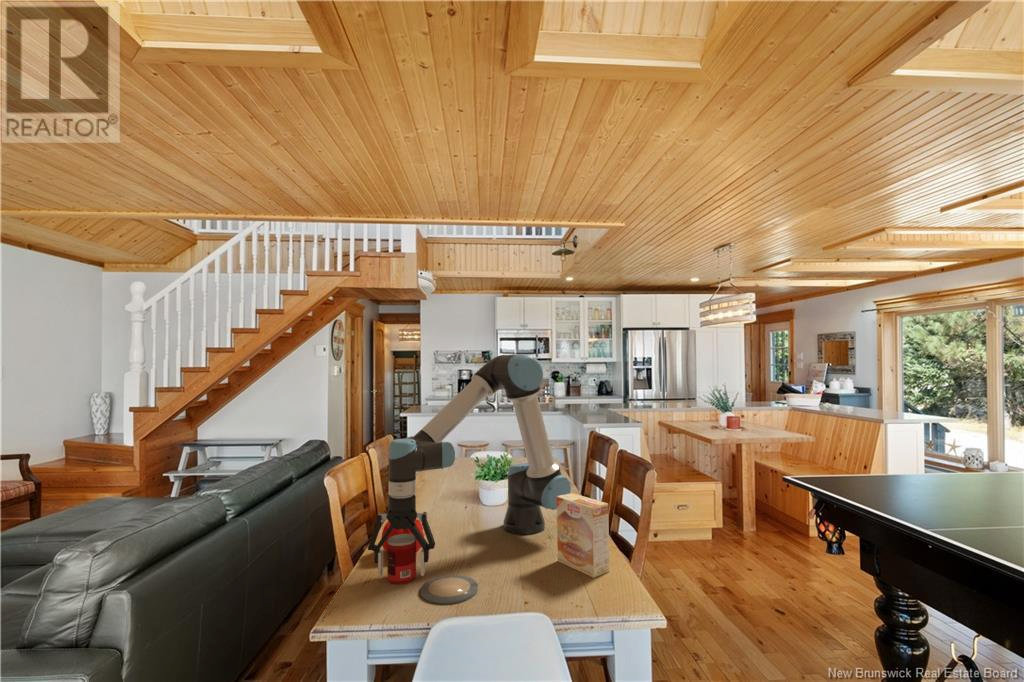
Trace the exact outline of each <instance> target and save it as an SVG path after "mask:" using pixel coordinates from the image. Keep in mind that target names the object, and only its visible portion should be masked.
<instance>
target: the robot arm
mask: <svg viewBox="0 0 1024 682" xmlns="http://www.w3.org/2000/svg"><path fill="white" fill-rule="evenodd" d="M543 379H544V370H543V367H542V365H541V363H540V361H539V360H538V359H537V358H536V357H534V356H532V355H530V354H523V353H517V354H501V355H497V356H495V357H493V358H490V360H489V361H487V362H486V363H485V364H484V365H483V366H481V368H479V369H478V370H477V371H476V372H474V374H473V375H472V376H471V381H469V383H468V384H467V385H466V386H465V387H463V388H462V389H461V391H459V392H458V393H457V394H456V395H455V396H454V397H453V398H452V399H451V400H450V401H448V403H447V404H446V405H445V406H444V407H442V409H440V410H439V412H438V413H437V414H436V415H435V416H433V417H432V419H430V420H429V421H428V423H427V424H425V425H423V427H422V428H421V429H420V430H419V431H418V432H417V433H415V435H413V436H409V437H408V436H407V437H406V438H397V439H393V440H392V441H391V440H390V442H389V446H388V456H387V458H388V495H389V497H388V510H387V513H383V512H379V513H378V515H376V524H375V526H374V530H373V531H372V536H371V538H370V541H369V543H368V545H367V550H368V551H372V552H373V553H374V564H375V565H376V564H377V567H378V568H377V577H378V578H381V577H382V575H383V573H384V548H383V546H382V545H383V544H384V542H385V540H386V539H387V537H388V536H389V534H390V533H391V531H392V530H393V528H394V529H396V530H399V529H404V530H407V529H408V528H409V530H410V531H411V532H412V533H413V535H414V536H415V538H416V539H417V541H418V542H419V544H420V545H421V552H420V576H421V577H424V576H425V573H426V563H428V562H429V559H430V555H429V554H430V550H433V549H435V547H436V541H435V538H434V535H433V533H432V529H431V528H430V524H429V521H428V512H427V511H423V512H420V513H419V512H417V510H416V509H417V507H416V504H417V503H416V500H417V498H416V497H417V496H416V490H417V487H416V485H417V472H425V471H426V472H427V471H431V470H443V469H446V468H450V467H451V466H453V465H454V464H455V460H456V452H455V447H454V446H453V443H451V442H449V441H446V442H445V441H444V440H445V439H446V438H447V437H448V436H449V435H450V434H451V432H453V431H454V429H455V428H457V427H458V426H459V425H460V424H461V423H462V422H463V421H464V420H465V419H466V418H467V417H468V416H469V415H470V414H471V413H472V411H474V410H475V409H476V408H477V407H478V406H479V405H480V404H481V403H482V402H483V401H484V400H485V399H486V398H488V397H492V396H493V395H494V394H495V393H496V392H498V391H499V390H502V389H504V391H505V395H506V399H507V400H509V401H511V402H512V405H513V408H514V412H515V416H516V420H517V424H518V428H519V431H520V436H521V441H522V443H523V447H524V452H525V456H526V461H527V462H520V463H515V464H511V465H510V466H509V467H508V470H507V501H508V502H507V504H508V505H507V509H506V513H505V515H504V519H503V529H504V530H505V531H506V532H508V533H512V534H517V535H530V534H531V535H532V534H538V533H540V532H542V531H544V530H545V528H546V521H545V518H544V514H543V511H542V509H541V507H542V508H544V509H546V510H548V509H549V510H552V511H557V496H560V495H565V494H570V493H572V485H571V482H570V480H569V478H567V476H565V475H562V472H561V468H560V464H559V463H558V462H556V461H554V458H553V454H552V449H551V446H550V441H549V437H548V433H547V430H546V425H545V422H544V418H543V413H542V409H541V406H540V401H539V397H538V395H539V394H540V392H541V384H542V383H543V381H542V380H543ZM416 519H418V520H419V521H420V522H421V524H422V528H423V533H424V535H425V536H426V538H425V536H424V537H423V535H422V534H421V532H420V531H419V529H418V528H417V526H416V524H415V522H414V521H415V520H416ZM385 520H387V522H388V521H389V522H390V524H391V525H390V526H389V528H388V530H387V531H386V533H385V534H384V536H383V537H382V536H381V538H382V539H381V538H380V540H379V542H378V543H377V544H376V541H377V539H378V535H379V533H380V530H381V528H382V524H383V523H384V522H385ZM381 548H382V549H381Z"/></svg>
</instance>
